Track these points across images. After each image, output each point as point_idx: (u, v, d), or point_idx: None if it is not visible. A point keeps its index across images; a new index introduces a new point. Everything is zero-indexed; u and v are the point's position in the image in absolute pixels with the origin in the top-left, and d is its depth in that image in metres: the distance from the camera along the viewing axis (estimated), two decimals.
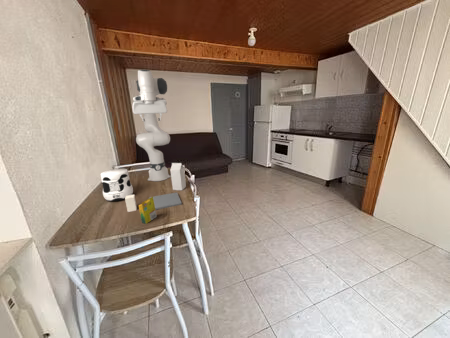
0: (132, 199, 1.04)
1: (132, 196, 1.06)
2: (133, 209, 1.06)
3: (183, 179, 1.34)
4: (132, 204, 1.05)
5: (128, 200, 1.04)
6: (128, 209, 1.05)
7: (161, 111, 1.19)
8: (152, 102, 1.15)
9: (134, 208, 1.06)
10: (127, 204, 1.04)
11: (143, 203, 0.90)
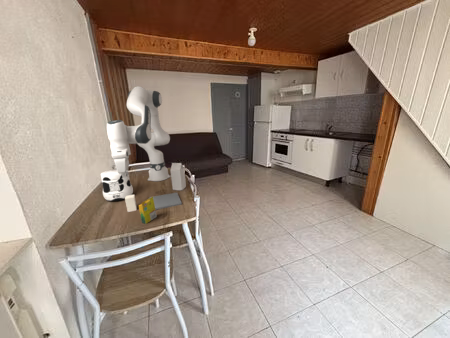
0: (132, 199, 1.04)
1: (132, 196, 1.06)
2: (133, 209, 1.06)
3: (183, 179, 1.34)
4: (132, 204, 1.05)
5: (128, 200, 1.04)
6: (128, 209, 1.05)
7: (128, 164, 1.07)
8: None
9: (134, 208, 1.06)
10: (127, 204, 1.04)
11: (143, 203, 0.90)
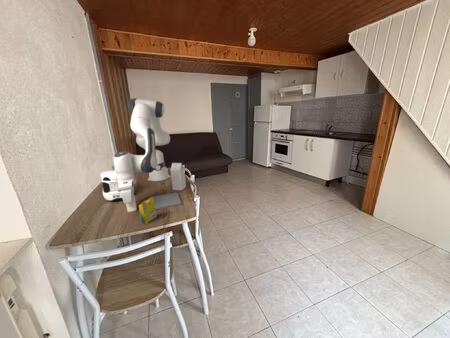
0: (132, 199, 1.04)
1: None
2: (133, 209, 1.06)
3: (183, 179, 1.34)
4: None
5: None
6: (128, 209, 1.05)
7: (133, 190, 1.12)
8: None
9: (134, 208, 1.06)
10: (127, 204, 1.04)
11: (143, 203, 0.90)
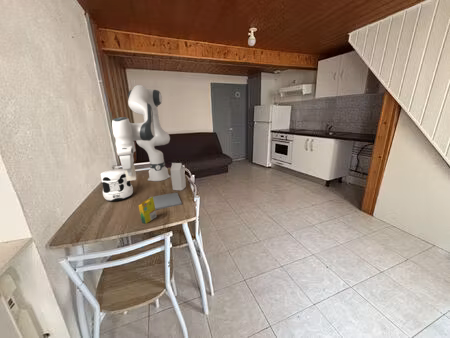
0: (131, 168, 1.01)
1: None
2: (132, 178, 1.02)
3: (183, 179, 1.34)
4: None
5: None
6: (127, 178, 1.01)
7: (133, 161, 1.08)
8: None
9: (133, 177, 1.03)
10: (126, 173, 1.01)
11: (143, 203, 0.90)
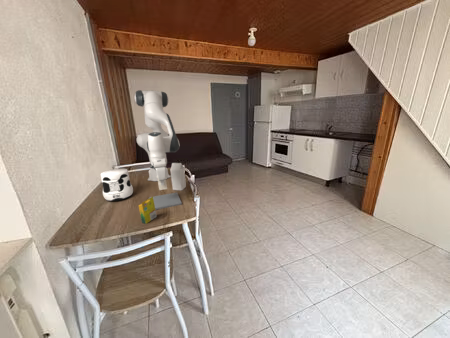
0: None
1: None
2: (164, 187, 1.11)
3: (183, 179, 1.34)
4: None
5: None
6: (160, 187, 1.10)
7: None
8: None
9: (165, 187, 1.11)
10: (159, 182, 1.10)
11: (143, 203, 0.90)
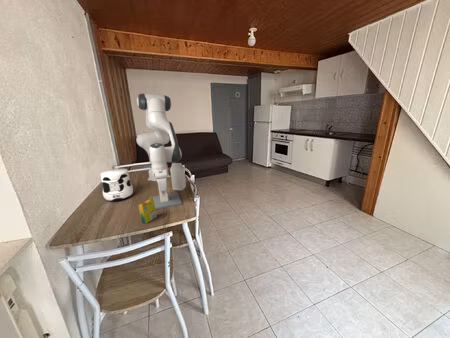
0: None
1: None
2: (166, 199, 1.14)
3: (183, 179, 1.34)
4: None
5: None
6: (161, 199, 1.13)
7: None
8: None
9: (166, 199, 1.14)
10: (160, 195, 1.12)
11: (143, 203, 0.90)
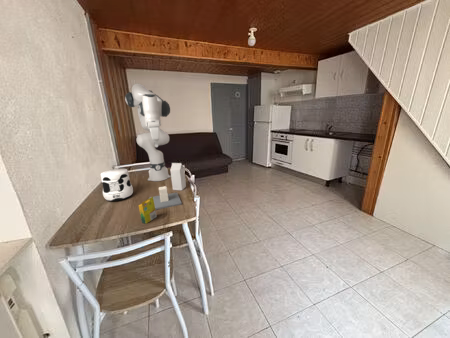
0: (165, 190, 1.12)
1: (165, 187, 1.13)
2: (166, 199, 1.14)
3: (183, 179, 1.34)
4: (165, 195, 1.13)
5: (161, 191, 1.12)
6: (161, 199, 1.13)
7: None
8: None
9: (166, 199, 1.14)
10: (160, 195, 1.12)
11: (143, 203, 0.90)
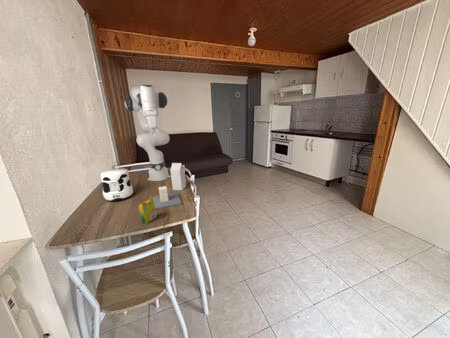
0: (165, 190, 1.12)
1: (165, 187, 1.13)
2: (166, 199, 1.14)
3: (183, 179, 1.34)
4: (165, 195, 1.13)
5: (161, 191, 1.12)
6: (161, 199, 1.13)
7: None
8: None
9: (166, 199, 1.14)
10: (160, 195, 1.12)
11: (143, 203, 0.90)
